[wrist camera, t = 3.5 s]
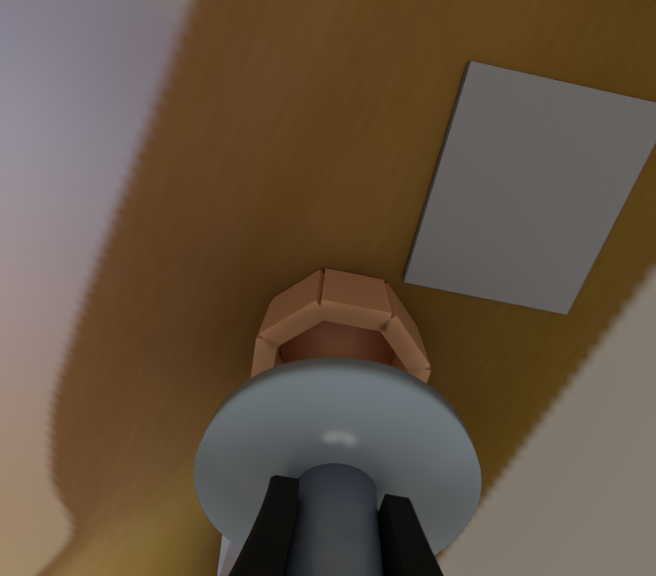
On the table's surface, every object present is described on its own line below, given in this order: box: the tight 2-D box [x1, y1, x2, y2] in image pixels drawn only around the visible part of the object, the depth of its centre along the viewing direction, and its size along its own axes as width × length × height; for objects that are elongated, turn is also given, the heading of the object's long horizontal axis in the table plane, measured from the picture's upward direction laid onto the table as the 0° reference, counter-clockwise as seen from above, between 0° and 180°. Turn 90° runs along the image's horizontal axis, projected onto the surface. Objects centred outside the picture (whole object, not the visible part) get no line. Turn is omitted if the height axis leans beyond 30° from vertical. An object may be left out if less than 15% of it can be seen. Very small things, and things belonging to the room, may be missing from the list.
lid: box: [194, 357, 482, 576], centre depth 9 cm, size 8×8×4 cm
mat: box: [403, 61, 656, 314], centre depth 15 cm, size 8×7×1 cm
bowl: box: [251, 268, 431, 383], centre depth 16 cm, size 7×7×3 cm
